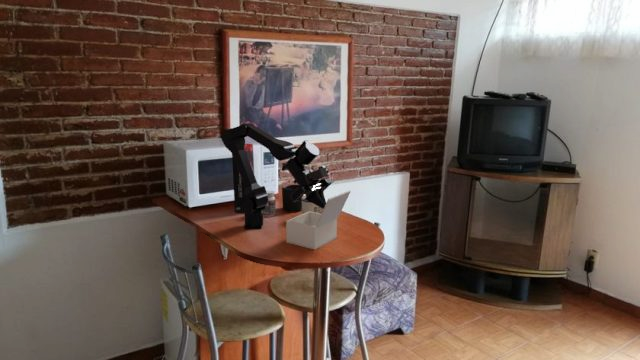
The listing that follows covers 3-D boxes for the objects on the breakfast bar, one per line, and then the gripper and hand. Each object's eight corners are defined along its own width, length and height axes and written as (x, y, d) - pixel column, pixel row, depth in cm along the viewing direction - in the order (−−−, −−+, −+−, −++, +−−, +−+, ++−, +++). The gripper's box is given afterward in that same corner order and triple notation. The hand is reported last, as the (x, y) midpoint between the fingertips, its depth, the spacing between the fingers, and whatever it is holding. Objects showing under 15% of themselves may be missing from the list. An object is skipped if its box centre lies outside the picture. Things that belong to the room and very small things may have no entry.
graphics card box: (249, 213, 201) (248, 149, 195) (233, 213, 201) (231, 149, 195) (255, 202, 218) (254, 143, 212) (240, 202, 218) (238, 143, 212)
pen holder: (305, 212, 204) (305, 189, 202) (283, 213, 202) (283, 190, 200) (301, 206, 213) (301, 184, 211) (280, 207, 211) (280, 185, 209)
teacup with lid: (313, 224, 188) (313, 195, 186) (296, 219, 194) (296, 191, 191) (332, 217, 197) (333, 189, 194) (316, 213, 203) (316, 186, 200)
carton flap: (328, 198, 155) (329, 199, 154) (349, 190, 166) (350, 191, 165) (315, 226, 160) (316, 227, 159) (336, 216, 171) (338, 217, 170)
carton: (286, 242, 168) (286, 220, 166) (309, 231, 179) (309, 211, 177) (315, 249, 161) (315, 227, 159) (336, 238, 173) (337, 216, 171)
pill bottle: (272, 217, 196) (272, 194, 194) (259, 216, 197) (259, 193, 195) (277, 213, 201) (277, 190, 199) (264, 212, 203) (264, 189, 201)
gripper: (298, 163, 156) (326, 201, 152) (328, 155, 171) (354, 189, 167) (278, 183, 161) (305, 220, 158) (310, 173, 177) (334, 207, 173)
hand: (326, 208), depth 164 cm, fingers closed
